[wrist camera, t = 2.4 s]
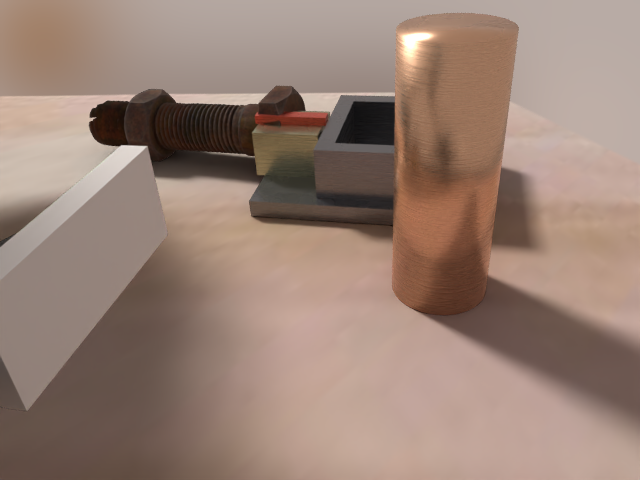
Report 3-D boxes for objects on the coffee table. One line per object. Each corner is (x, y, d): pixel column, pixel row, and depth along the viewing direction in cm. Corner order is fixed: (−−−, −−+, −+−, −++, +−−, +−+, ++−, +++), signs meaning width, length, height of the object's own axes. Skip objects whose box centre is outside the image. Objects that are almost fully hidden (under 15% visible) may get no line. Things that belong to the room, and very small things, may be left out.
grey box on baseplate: (239, 215, 35) (229, 147, 33) (283, 143, 43) (278, 85, 41) (465, 230, 32) (472, 158, 30) (467, 150, 41) (472, 89, 38)
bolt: (120, 165, 46) (304, 178, 41) (74, 161, 41) (276, 176, 37) (123, 87, 45) (310, 92, 41) (77, 75, 41) (283, 79, 36)
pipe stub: (386, 309, 27) (389, 44, 21) (397, 254, 31) (402, 13, 24) (486, 319, 26) (522, 45, 20) (484, 261, 30) (515, 12, 23)
